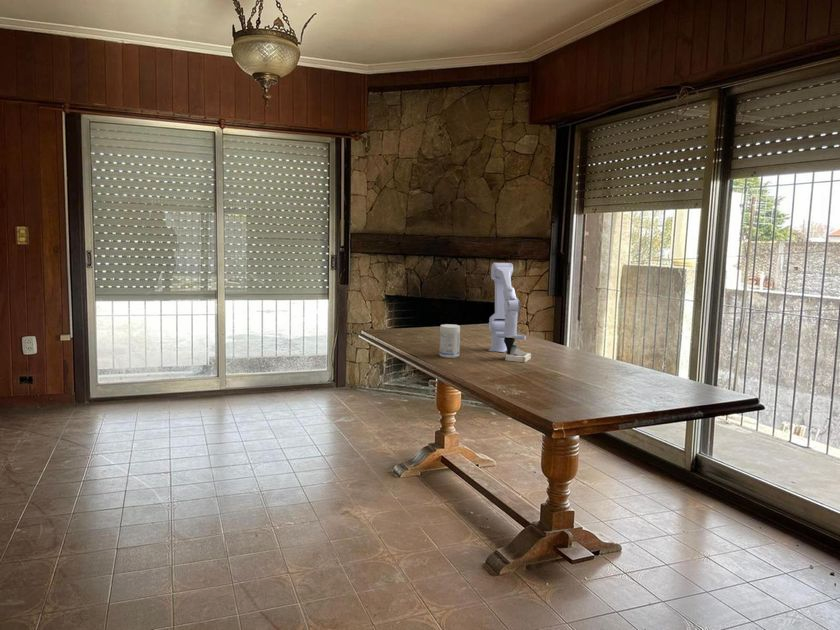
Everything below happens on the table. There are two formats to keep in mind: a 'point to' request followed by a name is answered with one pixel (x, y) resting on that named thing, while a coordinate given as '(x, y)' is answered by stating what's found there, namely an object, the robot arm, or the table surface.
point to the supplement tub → (449, 341)
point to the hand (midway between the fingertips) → (509, 353)
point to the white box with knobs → (515, 351)
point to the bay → (518, 357)
